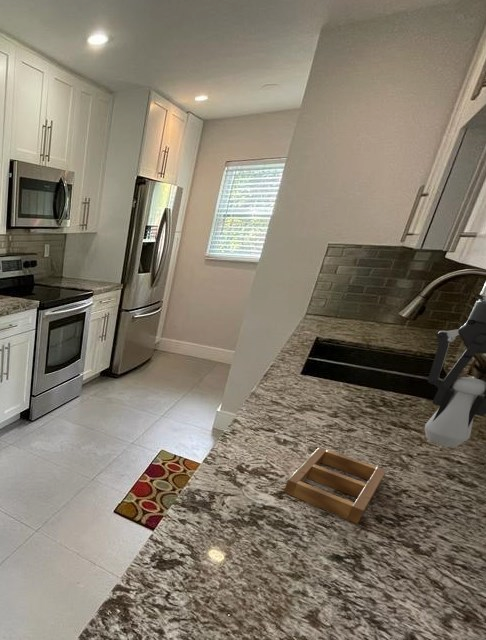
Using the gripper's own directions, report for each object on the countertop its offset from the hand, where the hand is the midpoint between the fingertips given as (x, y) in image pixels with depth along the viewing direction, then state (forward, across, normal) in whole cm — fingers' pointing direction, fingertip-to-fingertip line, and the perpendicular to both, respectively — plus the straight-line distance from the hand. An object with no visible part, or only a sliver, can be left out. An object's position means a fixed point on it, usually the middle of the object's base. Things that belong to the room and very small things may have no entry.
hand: (449, 424), depth 77 cm
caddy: (+16, -11, -11) cm, 22 cm away
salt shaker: (+4, 0, 0) cm, 4 cm away
